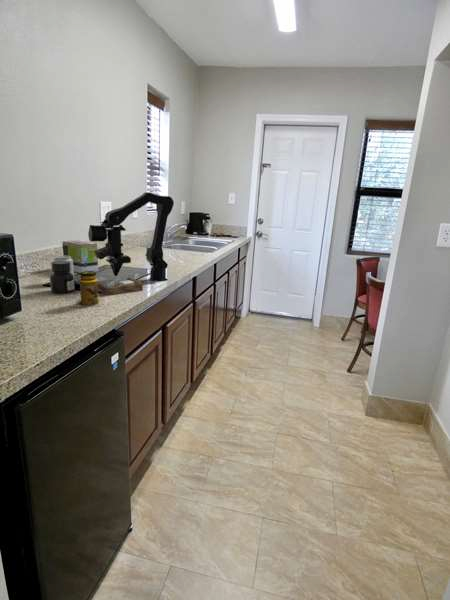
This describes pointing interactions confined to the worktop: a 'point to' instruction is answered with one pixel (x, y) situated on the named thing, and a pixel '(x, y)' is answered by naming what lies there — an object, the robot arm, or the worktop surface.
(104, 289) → the corral
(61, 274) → the ink bottle
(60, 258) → the can
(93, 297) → the condiment
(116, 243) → the robot arm
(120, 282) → the tile
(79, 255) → the tea box
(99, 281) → the tile
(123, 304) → the worktop surface
